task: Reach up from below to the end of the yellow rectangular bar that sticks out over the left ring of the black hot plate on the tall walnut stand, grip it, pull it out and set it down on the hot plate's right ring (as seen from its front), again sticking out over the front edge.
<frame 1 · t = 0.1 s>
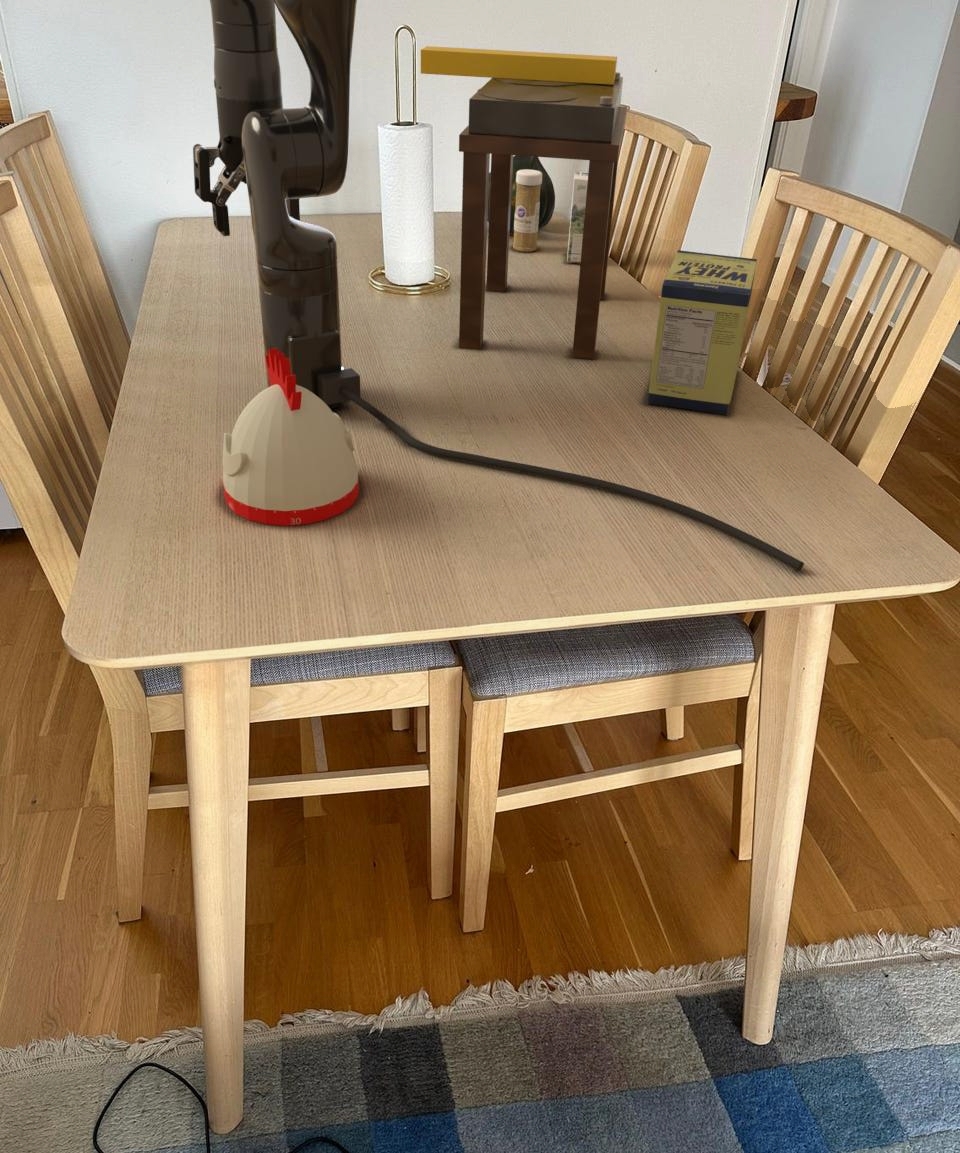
hand: (258, 230, 126), 17 cm above the table, tool pointing down, fingers open, 8 cm apart
sprinkles bottle: (525, 250, 185), on the table
squash: (514, 230, 195), on the table
yellow rectangular bar: (518, 77, 142), point 32 cm above the table, touching hob stand
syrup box: (582, 261, 180), on the table
hob stand: (536, 319, 153), on the table
protein box: (692, 389, 133), on the table
kitchen timer: (292, 493, 106), on the table
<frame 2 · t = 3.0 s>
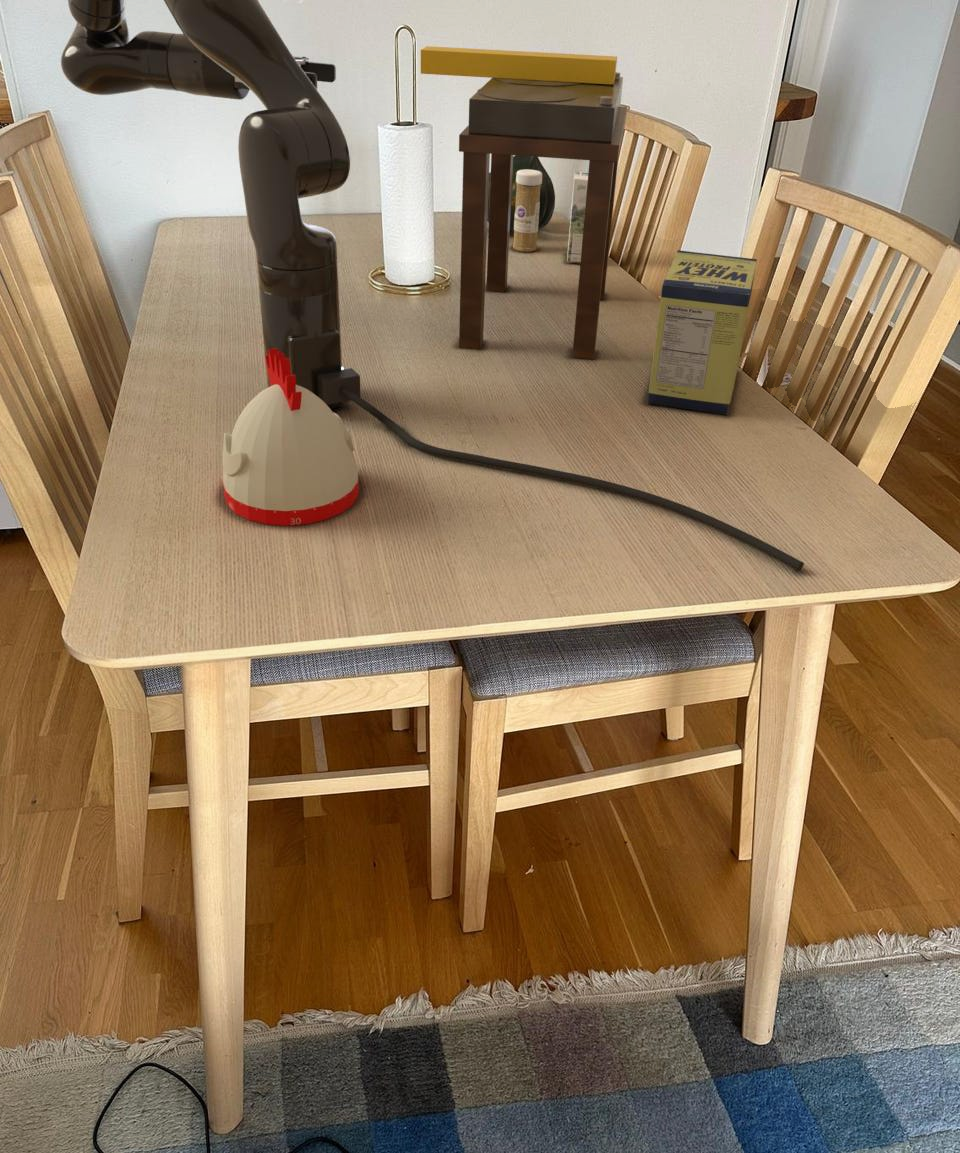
hand: (326, 78, 135), 32 cm above the table, tool horizontal, fingers open, 8 cm apart
nothing on the table moved.
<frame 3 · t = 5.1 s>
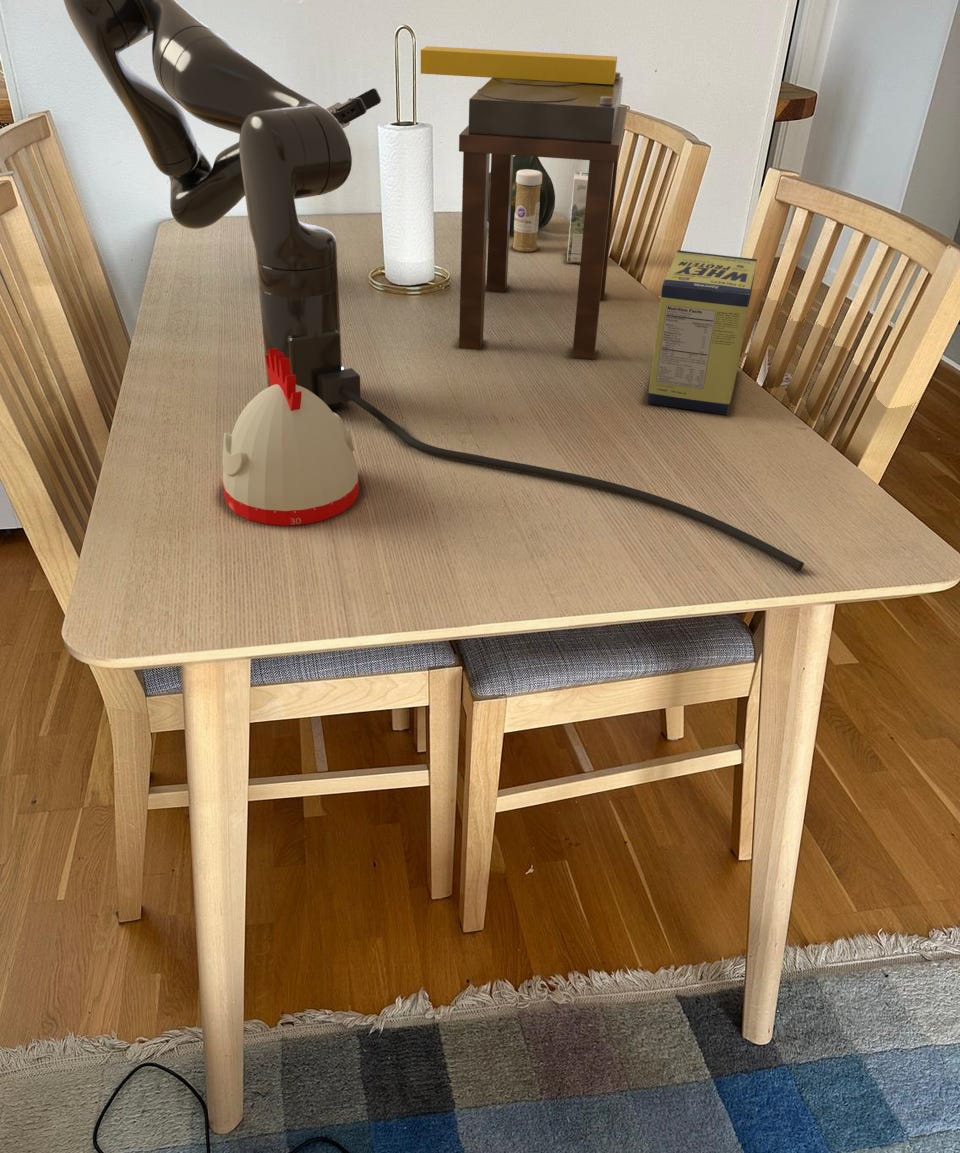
hand: (371, 99, 146), 28 cm above the table, tool pointing upward, fingers open, 8 cm apart
nothing on the table moved.
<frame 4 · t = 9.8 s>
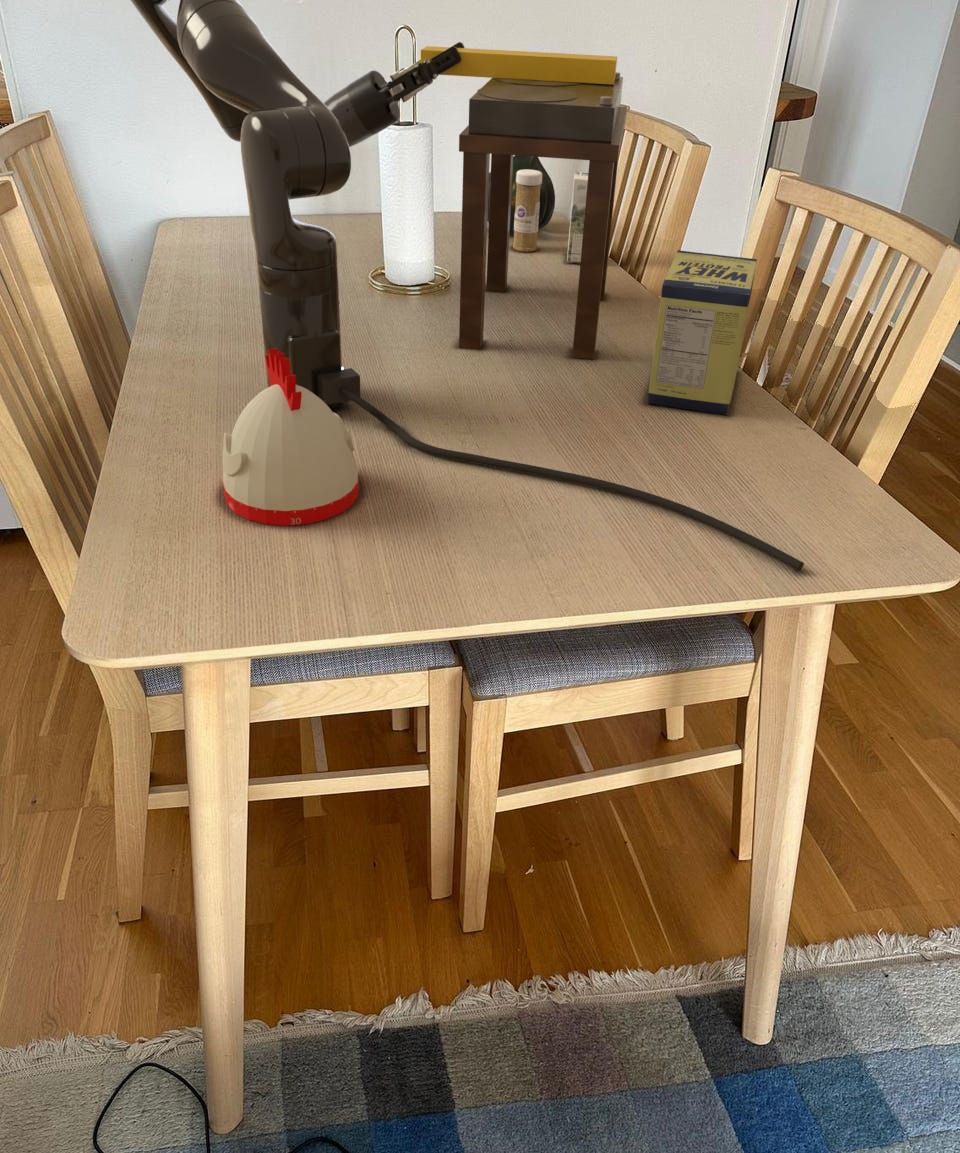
hand: (461, 51, 141), 35 cm above the table, tool pointing upward, fingers closed on yellow rectangular bar, 4 cm apart
yellow rectangular bar: (518, 76, 142), point 32 cm above the table, touching gripper, hob stand
everything else where it was.
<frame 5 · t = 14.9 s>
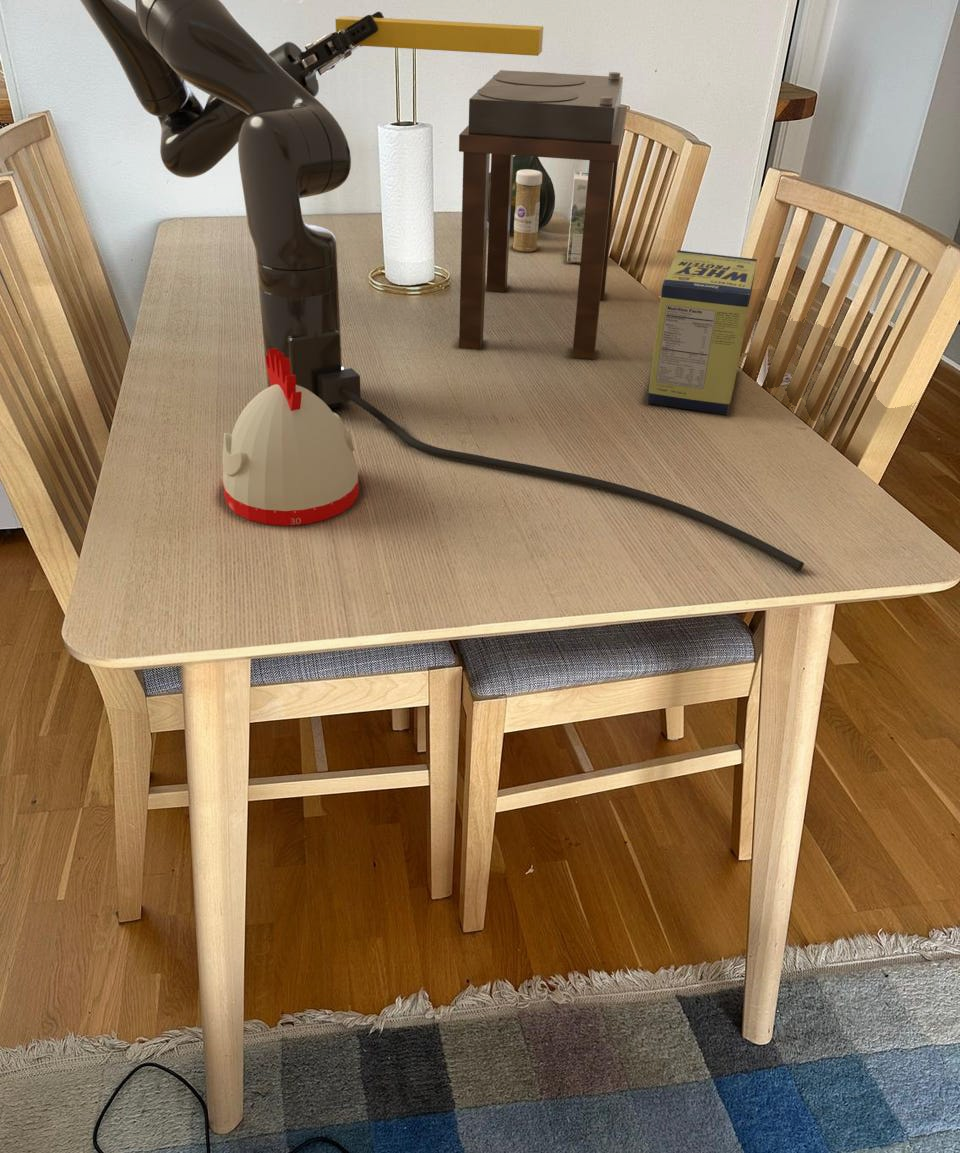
hand: (378, 20, 134), 39 cm above the table, tool pointing upward, fingers closed on yellow rectangular bar, 4 cm apart
yellow rectangular bar: (439, 48, 134), point 36 cm above the table, touching gripper
everything else where it was.
when the fingers open (35 cm above the table, at t = 20.2 s): yellow rectangular bar stays where it is, resting on hob stand.
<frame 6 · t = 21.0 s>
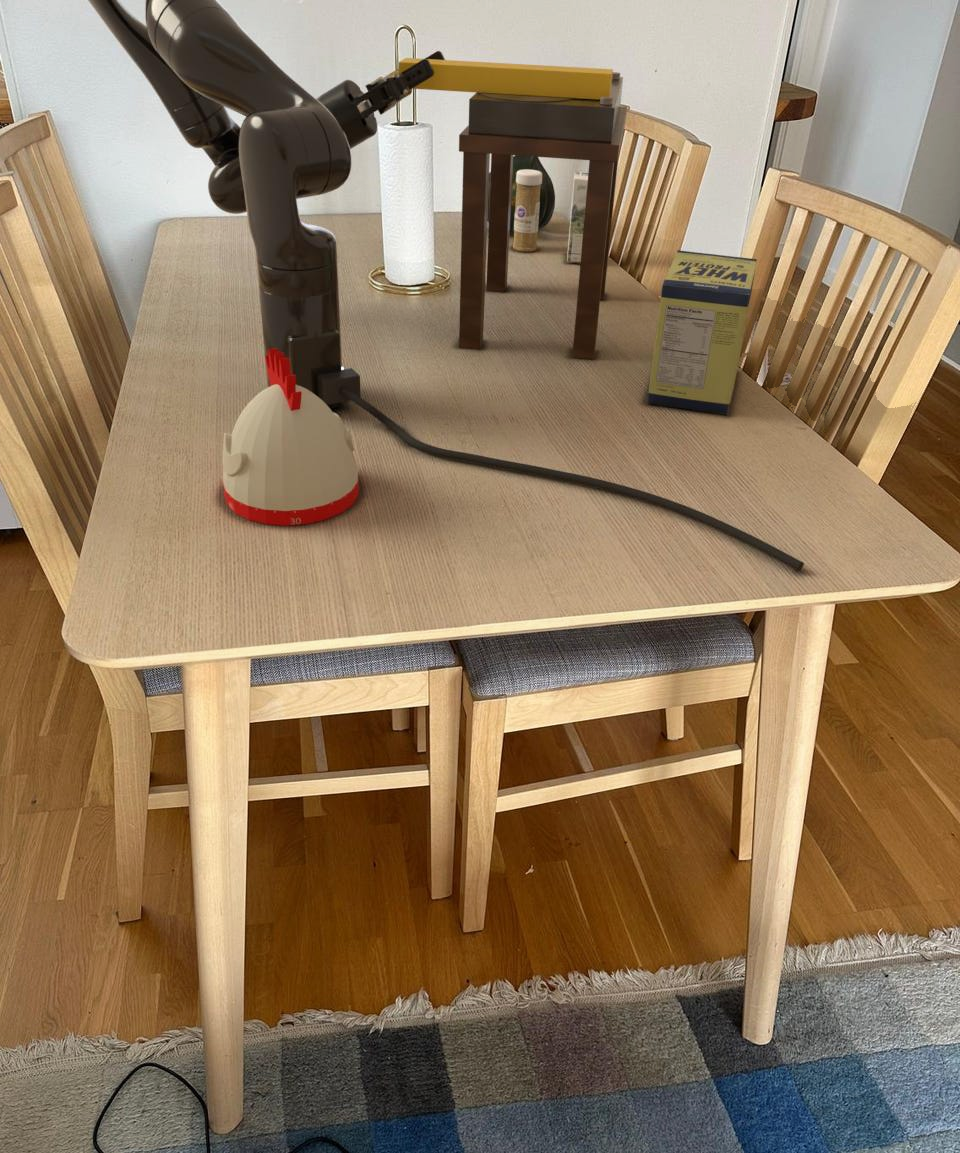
hand: (437, 61, 130), 35 cm above the table, tool pointing upward, fingers open, 8 cm apart
yellow rectangular bar: (504, 91, 130), point 32 cm above the table, touching hob stand
everything else where it was.
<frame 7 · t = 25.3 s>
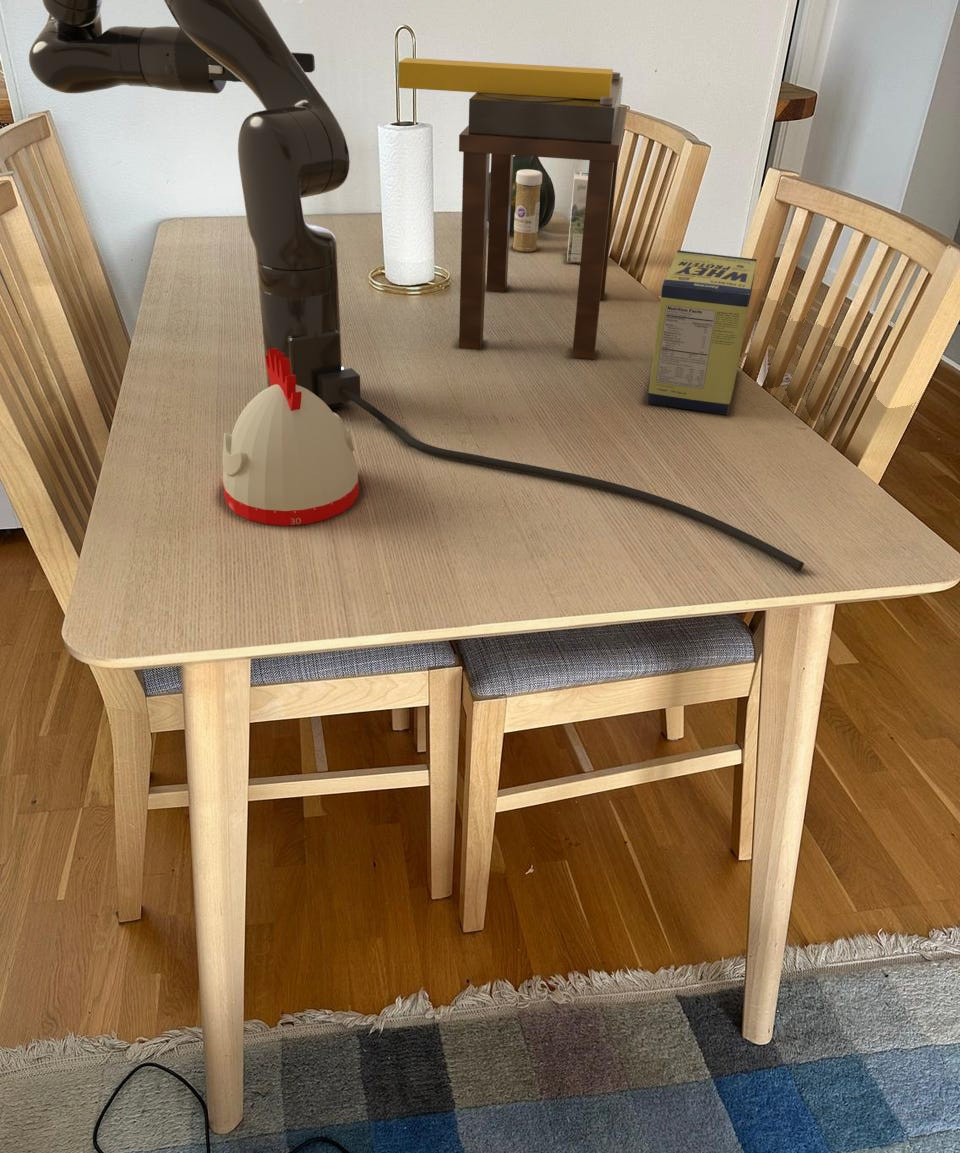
hand: (304, 67, 130), 34 cm above the table, tool horizontal, fingers open, 8 cm apart
nothing on the table moved.
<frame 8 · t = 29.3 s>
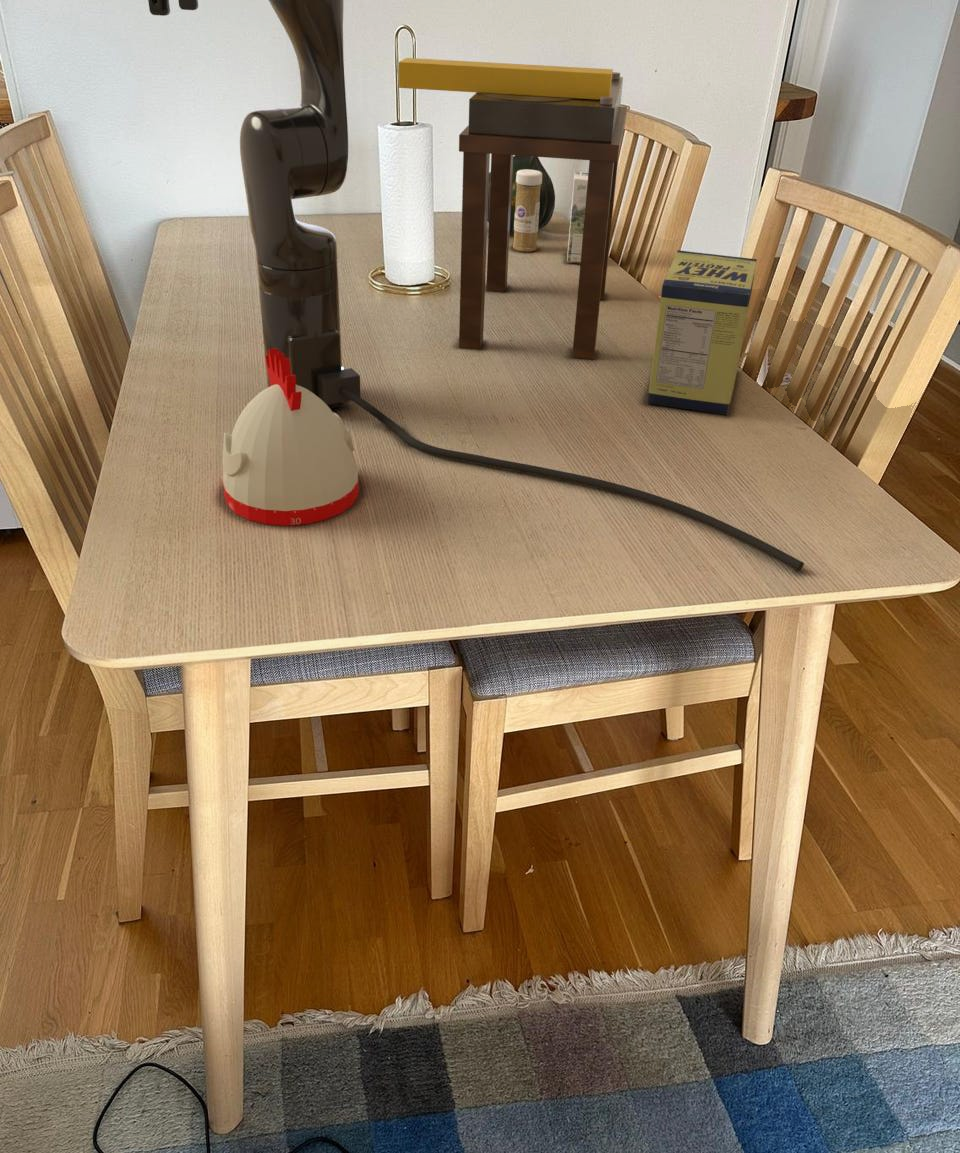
hand: (175, 12, 121), 40 cm above the table, tool pointing down, fingers open, 8 cm apart
nothing on the table moved.
at the end: yellow rectangular bar inside the target area (0.0 cm from its centre), point 32.1 cm above the table; yellow rectangular bar tilted 0°; the gripper is holding nothing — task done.
